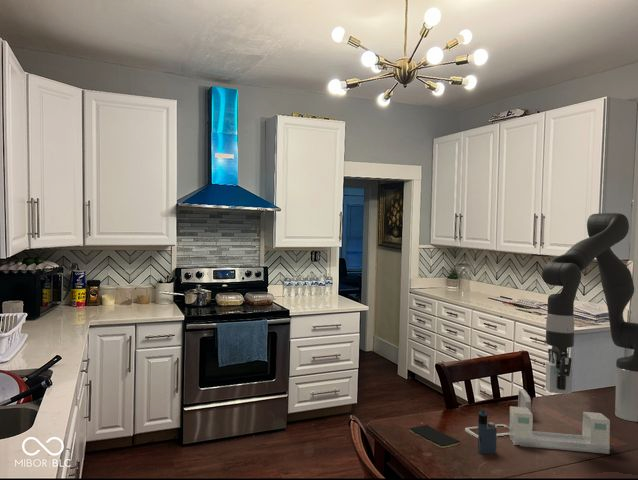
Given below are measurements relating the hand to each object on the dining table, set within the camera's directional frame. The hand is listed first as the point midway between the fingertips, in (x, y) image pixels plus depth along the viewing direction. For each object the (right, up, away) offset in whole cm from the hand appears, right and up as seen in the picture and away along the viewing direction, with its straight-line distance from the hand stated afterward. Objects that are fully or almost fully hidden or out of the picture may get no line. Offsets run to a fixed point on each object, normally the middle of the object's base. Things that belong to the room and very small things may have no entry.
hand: (558, 386), depth 146 cm
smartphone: (-36, -17, +3) cm, 40 cm away
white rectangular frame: (-17, -18, +8) cm, 26 cm away
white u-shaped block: (-1, -17, 0) cm, 17 cm away
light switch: (+1, -18, +26) cm, 31 cm away
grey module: (0, -1, 0) cm, 1 cm away
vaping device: (-24, -17, -7) cm, 30 cm away
